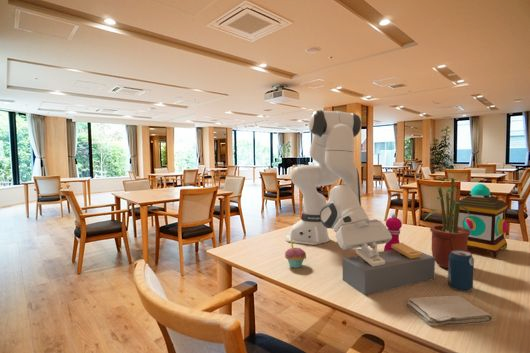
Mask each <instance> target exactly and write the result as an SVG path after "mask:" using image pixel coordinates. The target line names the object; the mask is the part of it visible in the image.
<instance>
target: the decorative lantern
mask: <svg viewBox="0 0 530 353" xmlns="http://www.w3.org/2000/svg"><path fill="white" fill-rule="evenodd" d="M460 199H461V200H459V199H457V200H456V202H460V206H464V207H465V208H466V209H468V210H469V214H468V212H467V211H466V210H465V209H463V208H461V207H460V209H459V219H458V227H463V228H466V229H468V230H470V235H469V236H468V244H467V248H473V249H479V250H481V251H487V252H490V253H491V255H492V258H493V259H496V258H497V256H498V252H499V251H500V250H501V249H502V250H504V251H505V250H507V247H508V242H507V240H506V238H505V236H504V235H505V234H506V233H507V230H508V226H509V225H508V223H507V222H508V221H507V220H506V219H505V216H506V214H505V213H506V210H507V208H508V206H509V204H508V203H507V202H506V201H504V200H502V199H498V198H497V197H495V196H494V195H493V194H491V190H490V188H489V187H488V186H487V185H486V184H483V183H477V184H475V185H474V186H473V187H471V190H470V193H469V194H468V195H466V196H465V197H463V198H460ZM453 206H454V207H455V204H453ZM453 219H454V217H452V220H453Z"/></svg>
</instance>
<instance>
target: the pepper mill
mask: <svg viewBox="0 0 530 353" xmlns="http://www.w3.org/2000/svg"><path fill="white" fill-rule="evenodd" d="M402 226H403V222H402V220H401V219H400V218H398V217H397V215H396V214H395V213H392V214H391V217H389V218H387V219H386V220H385V227H386V228H387V229H388V231H389V232H390V234H391V235H392V239H391V240H390V241H389V242H388V243H385V245H384V246H383V251H388V250H394V249H393V248H392V247H391V246H392V244H397V243H401V242H400V234H401V228H402Z"/></svg>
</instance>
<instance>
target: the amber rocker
mask: <svg viewBox="0 0 530 353" xmlns="http://www.w3.org/2000/svg"><path fill="white" fill-rule="evenodd" d="M391 247H392V248H393V249H395V250H397V251H398V252H400V253H402V254H403V255H405V256H407V257H408V258H410V259H412V258H417V257H421V256H422V253H423V252H422V253H420V252H421V251H419V250H417V251H416V249H415V248H413V247H411V246H409V245H407V244H405V243H404V242H400V243H397V244H392V246H391ZM418 251H419V252H418Z"/></svg>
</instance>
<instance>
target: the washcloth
mask: <svg viewBox="0 0 530 353" xmlns="http://www.w3.org/2000/svg"><path fill="white" fill-rule="evenodd" d="M406 306H409V308H410V310H411V311H412V312H414V314H415V315H416V316H418V317H419V318H420V319H421V320H422V321H424V323H425V324H427V325H428V326H430V327H431V326H432V327H453V326H462V325H463V326H465V325H475V324H488V323H491V322H492V321H493V319H494V318H493V316H492V315H491V314H490V313H488V312H486V311H485V310H483V309H482V308H480V307H477V306H475V305H473V304H472V303H471V302H470V301H468V300H466V299H465V298H464V297H462V296H460V295H444V296H443V295H440V296H436V295H435V296H426V297H411V298H408V299H407V305H406Z"/></svg>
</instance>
